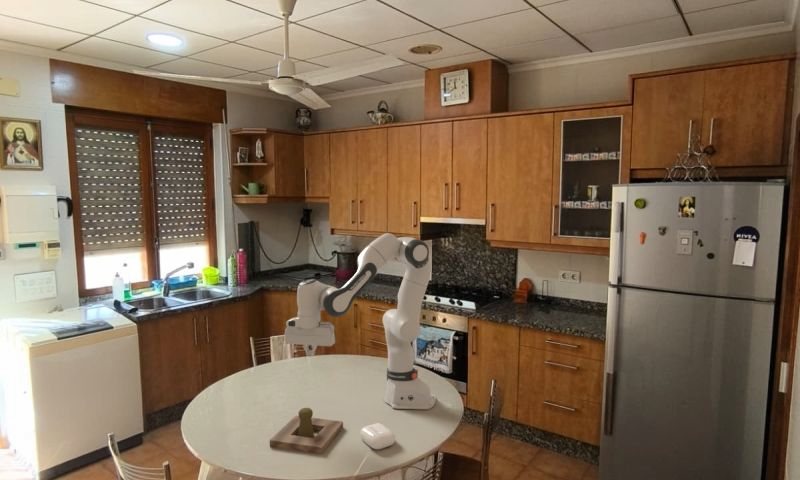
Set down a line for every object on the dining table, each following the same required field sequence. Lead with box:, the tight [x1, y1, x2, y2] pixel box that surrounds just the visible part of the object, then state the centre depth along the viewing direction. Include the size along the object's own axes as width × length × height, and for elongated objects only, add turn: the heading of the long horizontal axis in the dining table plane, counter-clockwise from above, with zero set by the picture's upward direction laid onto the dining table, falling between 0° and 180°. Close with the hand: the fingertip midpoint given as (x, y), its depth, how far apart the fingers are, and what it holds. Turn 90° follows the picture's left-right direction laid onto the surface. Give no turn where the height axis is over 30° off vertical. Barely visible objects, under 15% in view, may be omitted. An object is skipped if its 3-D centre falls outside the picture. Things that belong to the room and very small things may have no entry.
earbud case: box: [359, 422, 396, 451], centre depth 173 cm, size 10×13×5 cm
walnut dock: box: [269, 415, 344, 455], centre depth 176 cm, size 20×20×3 cm
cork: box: [297, 407, 315, 438], centre depth 176 cm, size 6×6×11 cm
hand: (310, 355), depth 188 cm, fingers closed
